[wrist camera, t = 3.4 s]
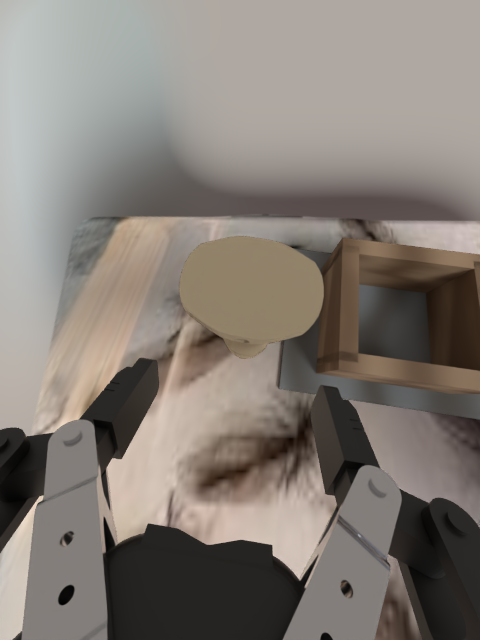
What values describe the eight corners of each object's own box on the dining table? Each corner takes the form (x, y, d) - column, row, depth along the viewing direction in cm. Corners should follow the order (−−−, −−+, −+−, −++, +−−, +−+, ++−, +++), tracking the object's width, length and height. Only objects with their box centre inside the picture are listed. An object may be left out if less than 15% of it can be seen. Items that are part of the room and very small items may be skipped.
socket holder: (465, 272, 27) (526, 241, 21) (484, 420, 23) (567, 431, 17) (292, 250, 28) (306, 214, 22) (279, 388, 24) (291, 389, 18)
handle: (220, 317, 26) (193, 227, 11) (278, 327, 25) (328, 249, 11) (210, 361, 24) (166, 323, 10) (271, 372, 24) (318, 350, 10)
